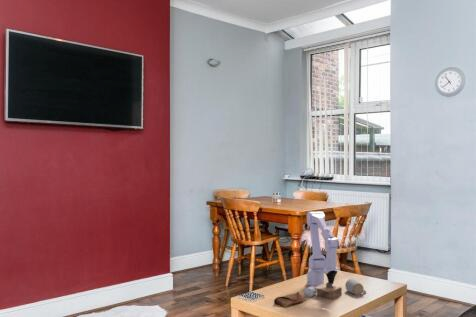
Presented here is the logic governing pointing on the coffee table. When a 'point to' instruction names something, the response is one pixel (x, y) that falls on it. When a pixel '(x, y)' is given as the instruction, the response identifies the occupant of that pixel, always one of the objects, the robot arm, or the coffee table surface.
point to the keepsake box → (329, 294)
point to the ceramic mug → (354, 287)
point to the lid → (327, 287)
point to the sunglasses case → (289, 300)
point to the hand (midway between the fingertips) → (330, 283)
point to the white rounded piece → (310, 291)
